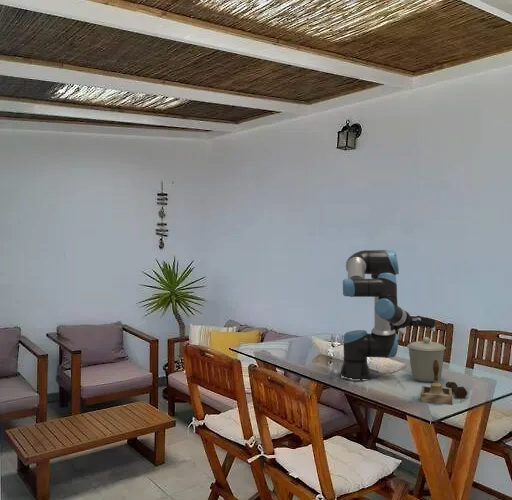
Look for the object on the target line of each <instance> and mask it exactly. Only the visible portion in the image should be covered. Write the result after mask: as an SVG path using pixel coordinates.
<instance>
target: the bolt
mask: <svg viewBox="0 0 512 500" xmlns="http://www.w3.org/2000/svg"><path fill="white" fill-rule="evenodd" d="M445 388H452V394H453V395H454V396H455V399H458V400H463V399H465V398H467V396H468V391H467V390H466V388H465V386H458V385H457V383H456V382H455V381H446V382H445Z"/></svg>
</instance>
